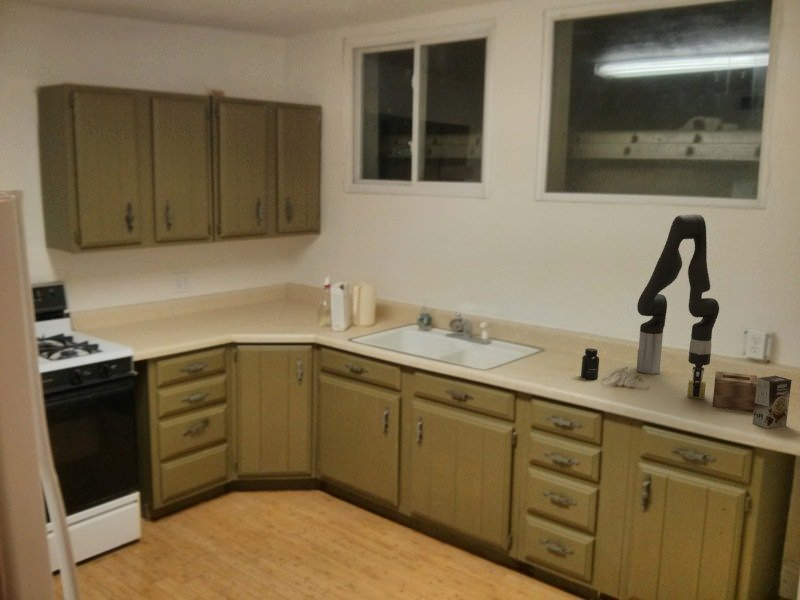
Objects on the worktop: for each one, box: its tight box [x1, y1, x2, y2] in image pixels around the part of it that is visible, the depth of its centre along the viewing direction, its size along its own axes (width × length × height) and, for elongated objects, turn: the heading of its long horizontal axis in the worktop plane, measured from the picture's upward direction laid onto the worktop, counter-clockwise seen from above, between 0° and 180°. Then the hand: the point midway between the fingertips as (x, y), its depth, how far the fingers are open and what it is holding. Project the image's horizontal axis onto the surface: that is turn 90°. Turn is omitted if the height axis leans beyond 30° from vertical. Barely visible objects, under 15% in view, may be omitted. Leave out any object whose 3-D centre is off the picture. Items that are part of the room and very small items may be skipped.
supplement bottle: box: [580, 347, 600, 381], centre depth 299 cm, size 7×7×12 cm
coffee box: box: [752, 375, 792, 429], centre depth 246 cm, size 9×6×16 cm
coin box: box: [712, 370, 758, 413], centre depth 267 cm, size 14×12×10 cm
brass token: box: [686, 379, 707, 400], centre depth 276 cm, size 6×2×6 cm, turn 66°
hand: (696, 393), depth 277 cm, fingers open, 6 cm apart
